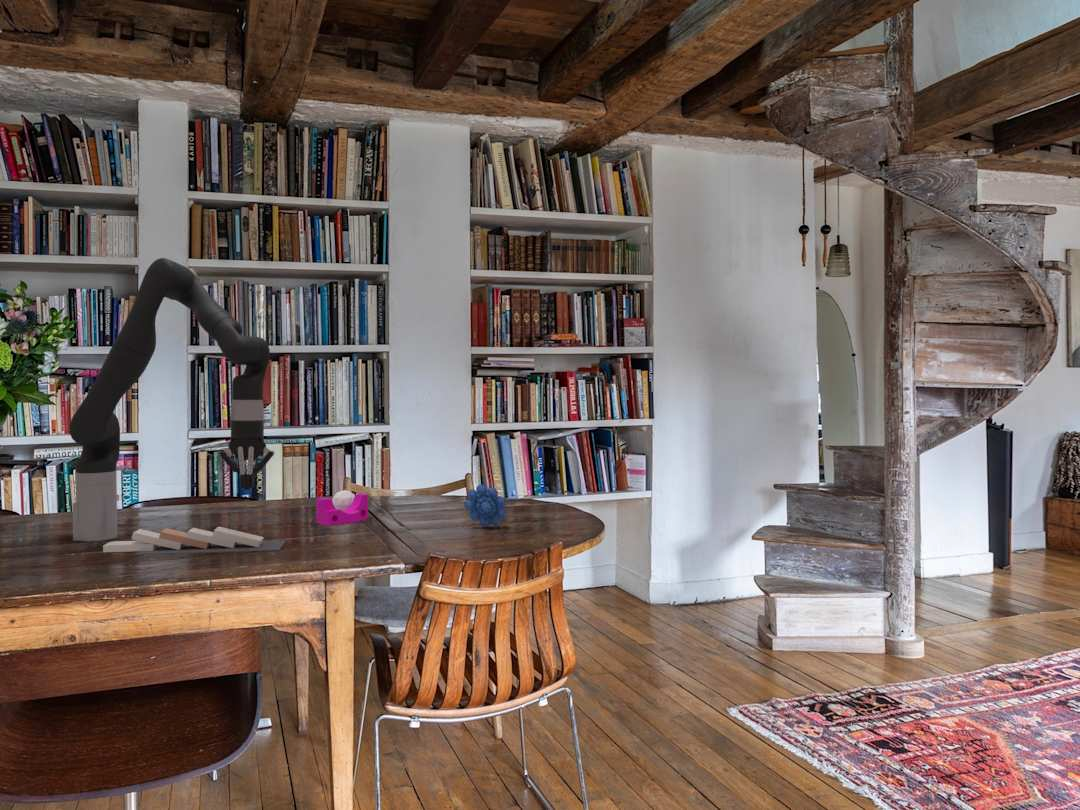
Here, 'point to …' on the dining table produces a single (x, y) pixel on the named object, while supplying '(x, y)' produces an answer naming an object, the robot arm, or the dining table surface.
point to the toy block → (336, 516)
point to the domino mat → (217, 548)
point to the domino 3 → (181, 538)
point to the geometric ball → (343, 499)
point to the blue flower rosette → (485, 506)
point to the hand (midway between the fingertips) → (247, 489)
